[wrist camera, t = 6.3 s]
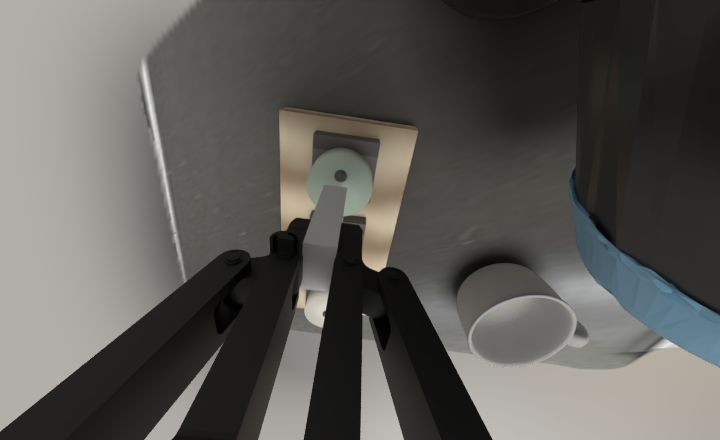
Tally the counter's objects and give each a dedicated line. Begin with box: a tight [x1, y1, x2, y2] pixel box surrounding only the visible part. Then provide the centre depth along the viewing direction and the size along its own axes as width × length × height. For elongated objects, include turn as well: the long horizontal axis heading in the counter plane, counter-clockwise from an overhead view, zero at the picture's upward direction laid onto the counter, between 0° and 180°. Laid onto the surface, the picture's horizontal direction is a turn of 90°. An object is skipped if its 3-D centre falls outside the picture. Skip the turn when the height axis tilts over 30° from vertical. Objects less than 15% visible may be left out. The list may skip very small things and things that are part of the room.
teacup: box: [457, 263, 589, 367], centre depth 31 cm, size 14×11×8 cm
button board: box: [279, 107, 418, 315], centre depth 29 cm, size 24×12×4 cm, turn 172°
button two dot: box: [306, 148, 373, 216], centre depth 21 cm, size 5×5×4 cm
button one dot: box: [304, 290, 329, 328], centre depth 31 cm, size 5×5×4 cm
